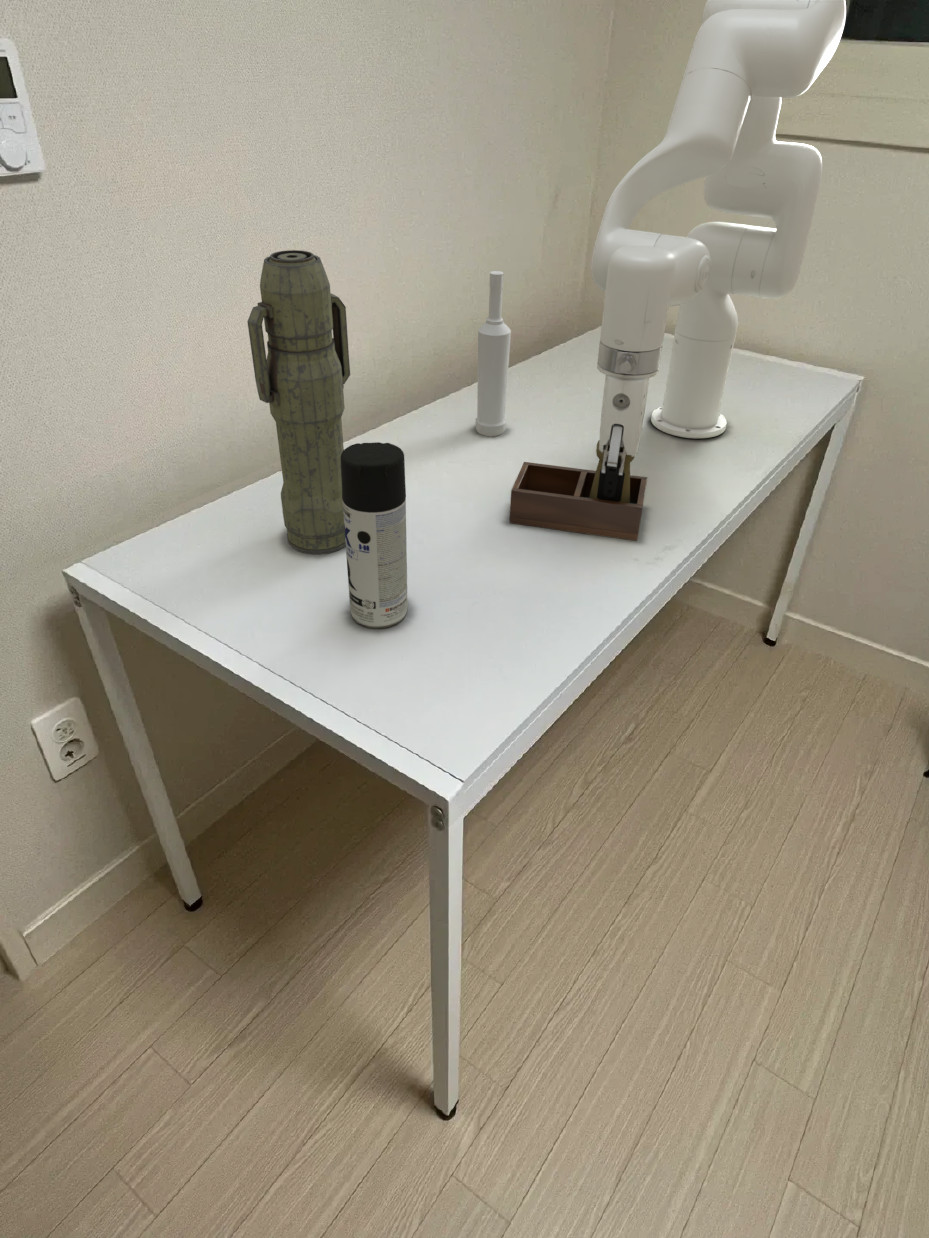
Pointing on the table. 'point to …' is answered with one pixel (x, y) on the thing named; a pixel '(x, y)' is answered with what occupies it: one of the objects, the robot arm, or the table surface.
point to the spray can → (375, 532)
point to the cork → (628, 460)
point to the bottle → (493, 364)
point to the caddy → (573, 502)
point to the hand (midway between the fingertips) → (610, 490)
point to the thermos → (304, 392)
